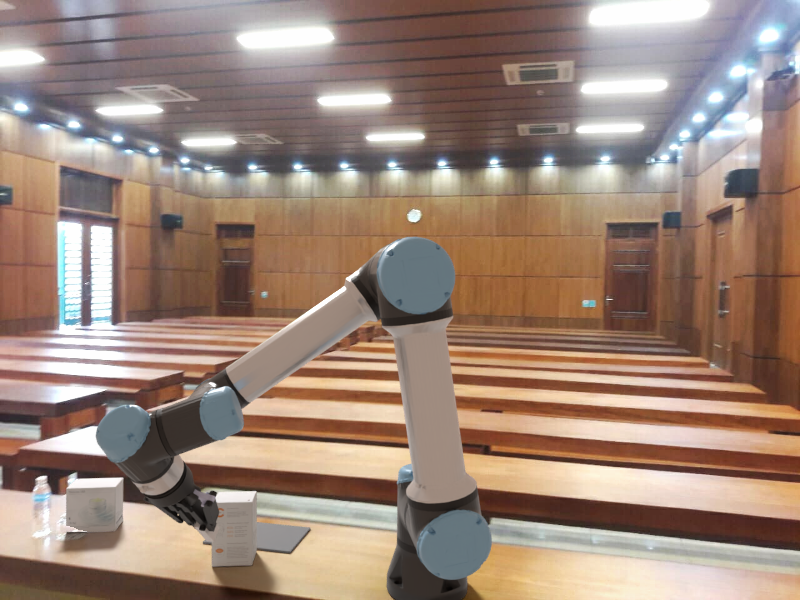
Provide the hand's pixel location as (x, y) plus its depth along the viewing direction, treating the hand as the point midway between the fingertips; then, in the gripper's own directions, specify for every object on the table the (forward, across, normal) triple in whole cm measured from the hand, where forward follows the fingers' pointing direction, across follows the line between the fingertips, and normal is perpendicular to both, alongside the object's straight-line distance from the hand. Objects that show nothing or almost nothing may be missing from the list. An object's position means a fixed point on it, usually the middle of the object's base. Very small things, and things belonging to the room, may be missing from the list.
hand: (213, 534), depth 110 cm
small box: (+12, 0, 0) cm, 12 cm away
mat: (+20, 0, +8) cm, 22 cm away
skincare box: (+18, -38, +5) cm, 42 cm away
